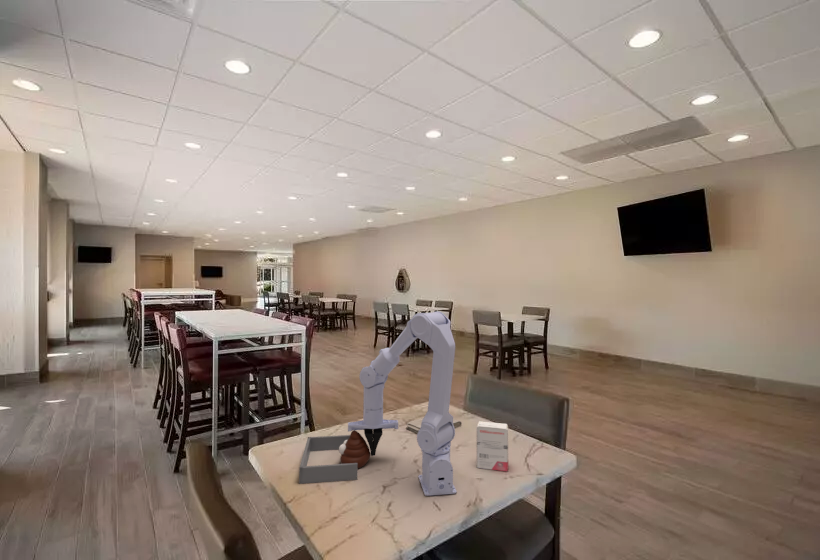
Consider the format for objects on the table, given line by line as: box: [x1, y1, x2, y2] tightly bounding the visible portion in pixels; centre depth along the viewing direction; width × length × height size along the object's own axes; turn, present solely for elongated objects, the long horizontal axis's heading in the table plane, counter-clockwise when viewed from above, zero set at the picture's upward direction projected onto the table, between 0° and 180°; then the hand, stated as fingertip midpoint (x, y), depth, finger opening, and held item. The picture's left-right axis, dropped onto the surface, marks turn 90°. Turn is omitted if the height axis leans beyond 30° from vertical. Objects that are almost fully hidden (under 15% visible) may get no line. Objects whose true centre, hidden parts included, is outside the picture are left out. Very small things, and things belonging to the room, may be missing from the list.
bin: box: [298, 434, 358, 485], centre depth 108 cm, size 20×15×4 cm
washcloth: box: [405, 417, 462, 435], centre depth 136 cm, size 12×18×3 cm, turn 132°
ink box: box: [476, 420, 509, 472], centre depth 107 cm, size 9×5×12 cm, turn 74°
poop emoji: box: [338, 430, 371, 469], centre depth 109 cm, size 10×8×9 cm
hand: (372, 454), depth 109 cm, fingers closed
